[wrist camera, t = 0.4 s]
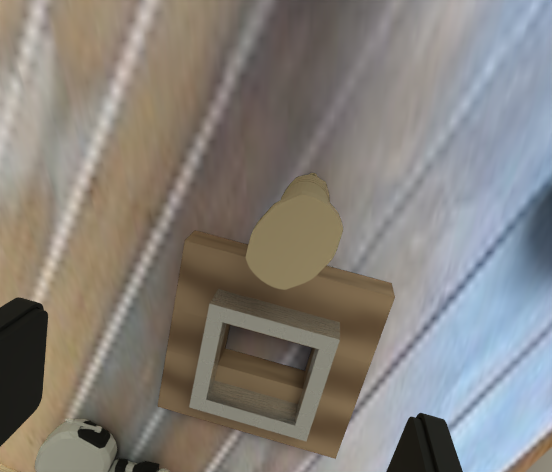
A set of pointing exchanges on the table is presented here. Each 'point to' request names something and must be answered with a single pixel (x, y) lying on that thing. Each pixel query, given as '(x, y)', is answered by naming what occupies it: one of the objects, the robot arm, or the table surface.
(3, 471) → the hardcover book
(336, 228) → the handle
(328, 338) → the collar
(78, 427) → the robot toy
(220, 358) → the board
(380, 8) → the table surface
